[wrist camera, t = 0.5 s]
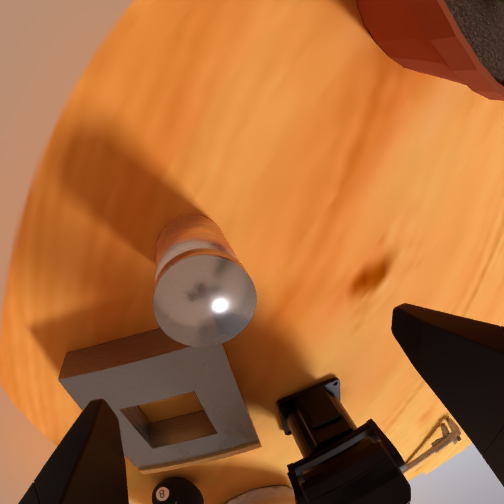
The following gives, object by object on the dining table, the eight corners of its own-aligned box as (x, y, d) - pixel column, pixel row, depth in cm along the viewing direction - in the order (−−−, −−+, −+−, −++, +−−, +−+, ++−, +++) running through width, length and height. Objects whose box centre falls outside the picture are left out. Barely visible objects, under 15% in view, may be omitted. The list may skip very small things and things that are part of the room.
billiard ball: (179, 466, 28) (187, 509, 22) (207, 481, 30) (217, 519, 25) (140, 478, 28) (144, 519, 22) (170, 493, 30) (177, 529, 25)
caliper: (446, 417, 46) (463, 436, 40) (448, 416, 46) (465, 434, 40) (391, 475, 51) (404, 493, 45) (394, 474, 51) (407, 492, 46)
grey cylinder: (233, 268, 21) (264, 329, 14) (168, 288, 20) (174, 357, 14) (216, 204, 19) (244, 242, 12) (146, 225, 18) (137, 275, 12)
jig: (252, 421, 27) (261, 446, 24) (141, 448, 25) (143, 474, 22) (211, 312, 21) (220, 340, 18) (66, 353, 19) (57, 382, 16)
